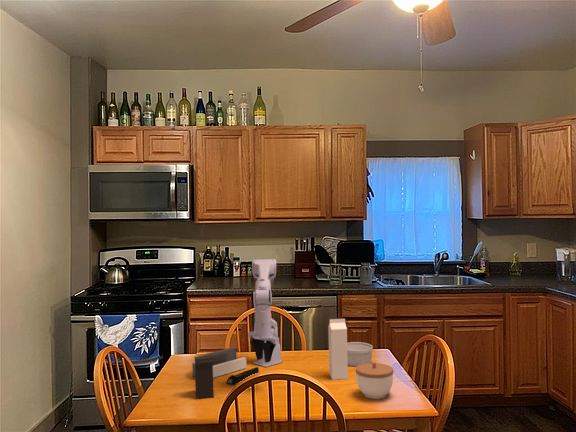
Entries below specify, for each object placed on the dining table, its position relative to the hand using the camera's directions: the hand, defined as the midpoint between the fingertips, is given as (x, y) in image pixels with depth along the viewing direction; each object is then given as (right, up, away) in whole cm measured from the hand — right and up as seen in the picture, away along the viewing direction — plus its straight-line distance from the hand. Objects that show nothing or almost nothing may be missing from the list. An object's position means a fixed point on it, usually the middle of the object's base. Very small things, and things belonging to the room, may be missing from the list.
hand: (263, 360), depth 178 cm
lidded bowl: (+38, -9, -10) cm, 41 cm away
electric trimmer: (-8, -10, +9) cm, 16 cm away
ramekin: (+37, -9, +26) cm, 47 cm away
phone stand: (-20, -10, -6) cm, 24 cm away
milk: (+28, -9, +9) cm, 31 cm away
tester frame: (-19, -10, +18) cm, 27 cm away
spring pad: (-16, -9, +15) cm, 24 cm away
